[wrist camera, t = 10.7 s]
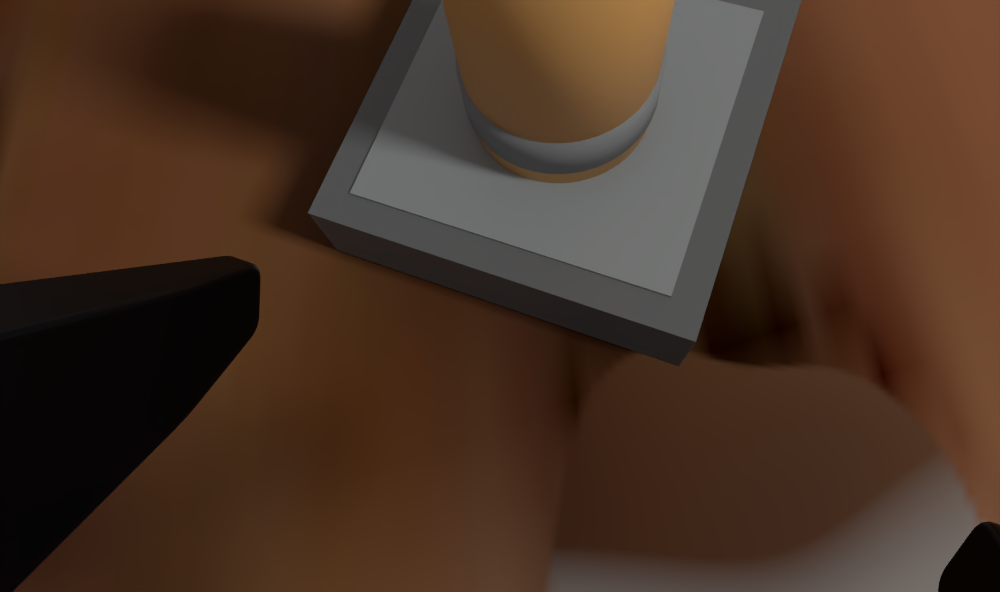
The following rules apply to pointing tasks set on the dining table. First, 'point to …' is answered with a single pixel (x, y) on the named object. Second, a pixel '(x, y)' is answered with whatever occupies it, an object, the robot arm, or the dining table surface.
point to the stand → (563, 184)
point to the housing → (559, 80)
